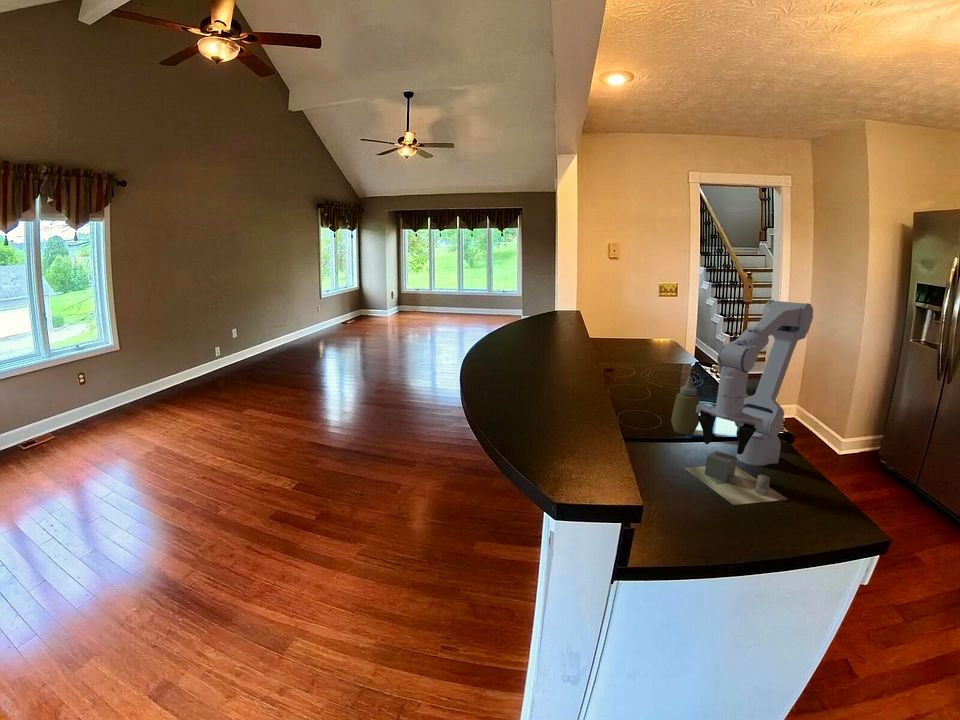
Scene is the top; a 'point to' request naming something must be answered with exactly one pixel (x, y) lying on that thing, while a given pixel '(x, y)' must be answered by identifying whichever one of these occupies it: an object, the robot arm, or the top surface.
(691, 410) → the squeeze bottle
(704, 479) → the board
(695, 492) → the top surface
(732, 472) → the grey matte cube
